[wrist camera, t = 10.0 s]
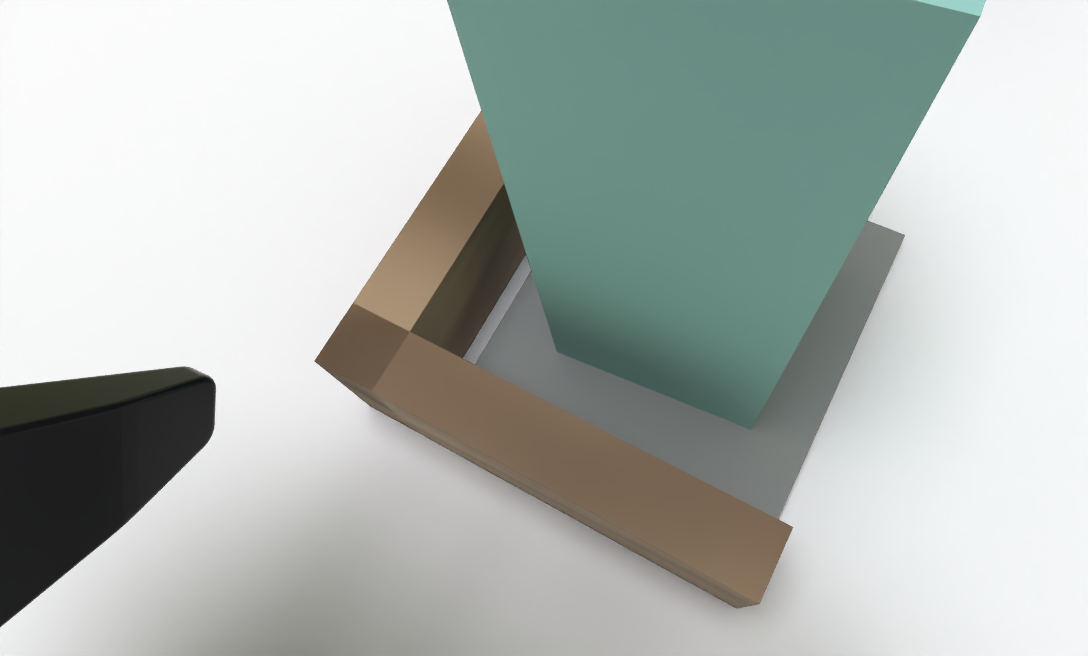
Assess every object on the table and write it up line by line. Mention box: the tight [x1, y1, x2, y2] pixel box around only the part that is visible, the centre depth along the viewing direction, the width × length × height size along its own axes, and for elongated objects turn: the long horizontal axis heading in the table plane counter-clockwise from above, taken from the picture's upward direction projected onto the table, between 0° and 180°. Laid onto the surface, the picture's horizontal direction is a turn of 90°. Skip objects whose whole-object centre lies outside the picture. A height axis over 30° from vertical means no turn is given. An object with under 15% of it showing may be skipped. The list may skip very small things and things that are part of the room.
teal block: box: [447, 0, 986, 430], centre depth 13 cm, size 5×5×13 cm
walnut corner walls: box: [315, 110, 793, 608], centre depth 18 cm, size 10×10×4 cm
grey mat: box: [475, 221, 905, 519], centre depth 19 cm, size 8×8×1 cm
